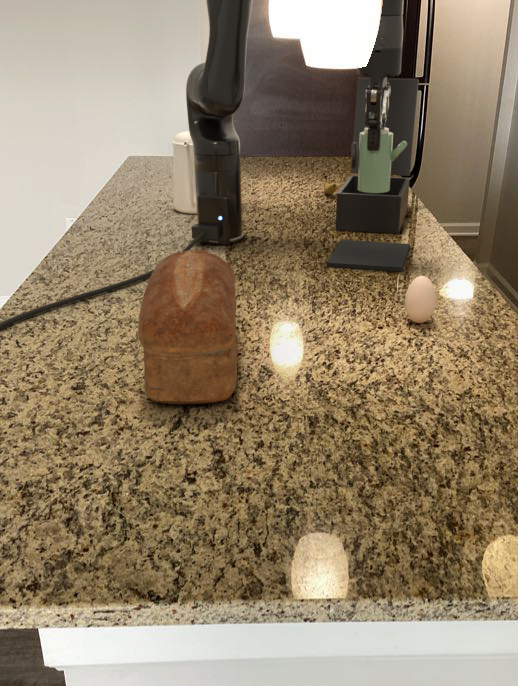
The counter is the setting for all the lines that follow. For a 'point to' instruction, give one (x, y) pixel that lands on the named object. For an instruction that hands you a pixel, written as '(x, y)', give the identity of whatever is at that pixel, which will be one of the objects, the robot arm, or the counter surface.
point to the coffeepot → (184, 174)
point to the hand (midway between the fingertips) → (375, 147)
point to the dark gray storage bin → (372, 207)
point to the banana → (329, 187)
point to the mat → (369, 255)
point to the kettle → (375, 162)
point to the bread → (189, 329)
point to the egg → (420, 299)
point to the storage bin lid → (391, 119)
